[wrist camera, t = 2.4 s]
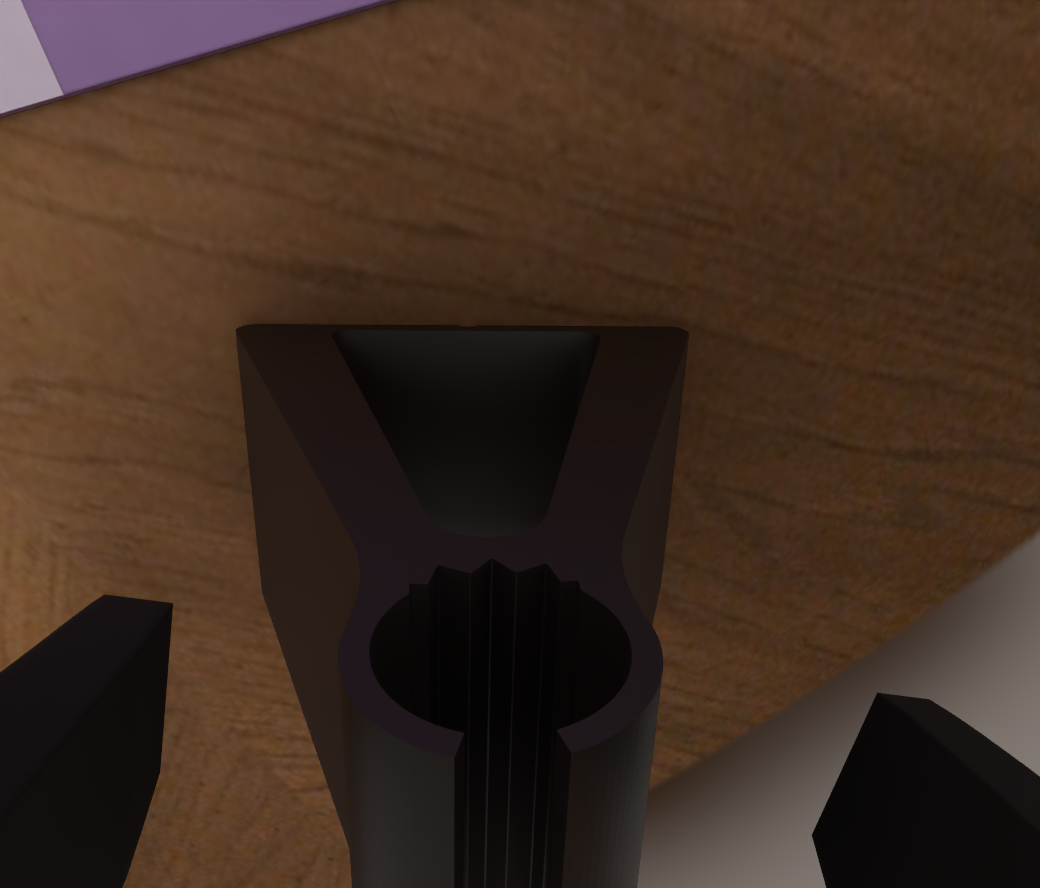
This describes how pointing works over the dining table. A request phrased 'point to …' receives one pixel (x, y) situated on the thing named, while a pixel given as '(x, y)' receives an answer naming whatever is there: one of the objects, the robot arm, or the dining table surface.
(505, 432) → the phone stand
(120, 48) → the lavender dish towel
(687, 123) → the dining table surface
